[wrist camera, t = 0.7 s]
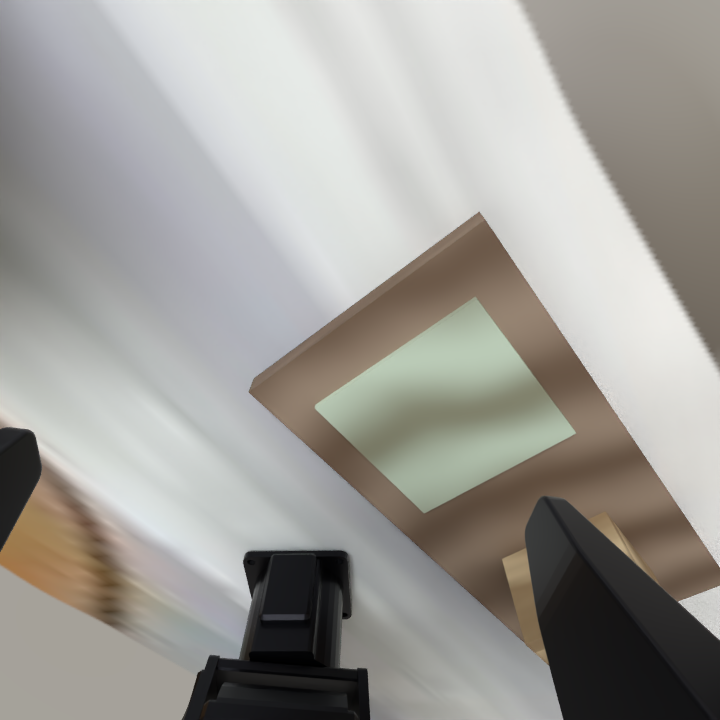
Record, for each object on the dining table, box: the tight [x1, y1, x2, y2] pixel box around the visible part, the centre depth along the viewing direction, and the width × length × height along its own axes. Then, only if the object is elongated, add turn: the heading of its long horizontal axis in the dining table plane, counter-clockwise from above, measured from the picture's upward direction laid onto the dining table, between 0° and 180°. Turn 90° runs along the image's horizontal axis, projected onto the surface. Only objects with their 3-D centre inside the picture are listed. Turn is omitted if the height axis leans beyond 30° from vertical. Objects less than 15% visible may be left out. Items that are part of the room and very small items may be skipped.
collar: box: [502, 511, 660, 665], centre depth 27 cm, size 6×6×5 cm
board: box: [249, 212, 720, 643], centre depth 25 cm, size 28×13×6 cm, turn 39°
